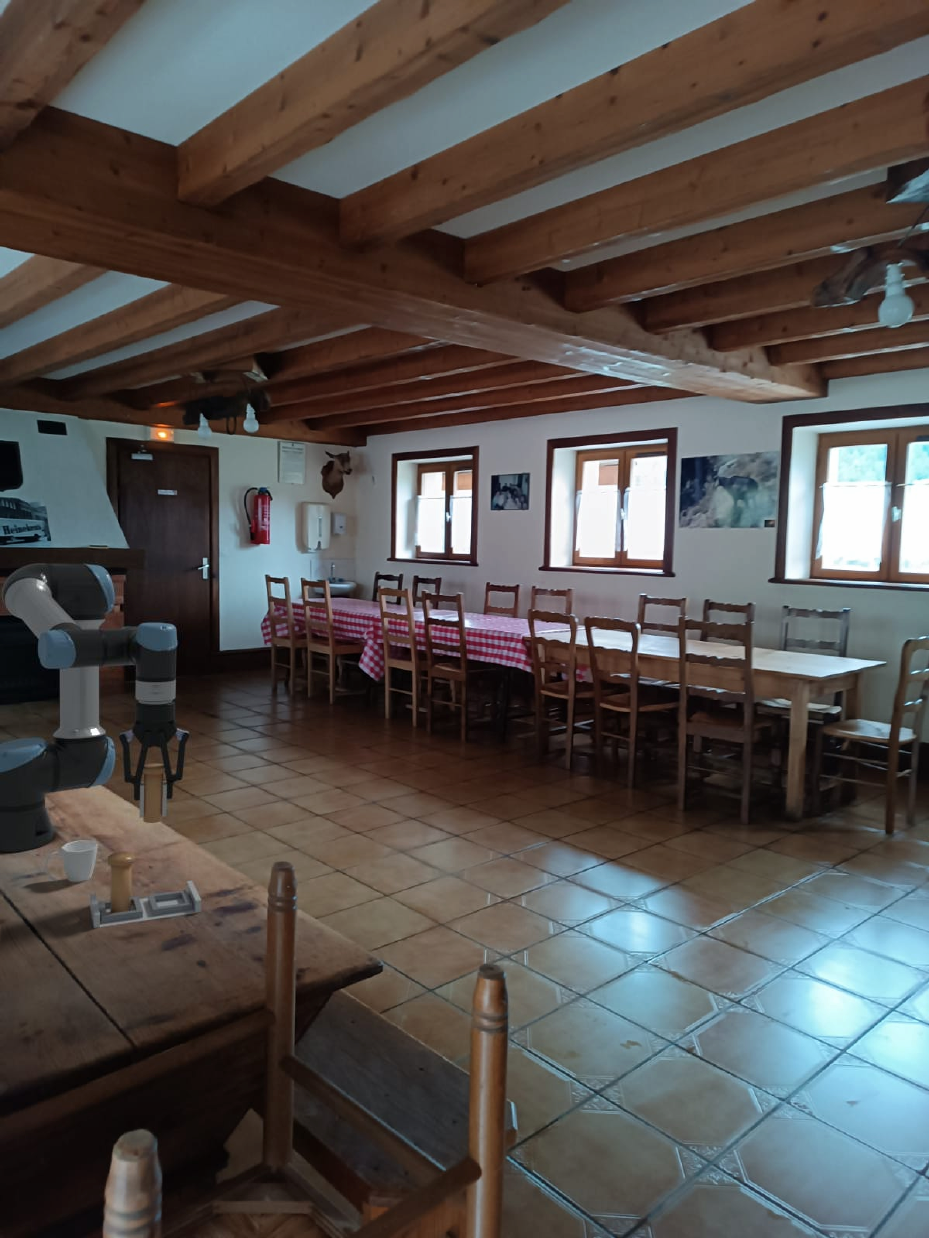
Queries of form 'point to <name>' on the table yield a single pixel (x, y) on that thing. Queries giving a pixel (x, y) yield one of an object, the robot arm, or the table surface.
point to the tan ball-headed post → (153, 792)
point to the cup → (77, 860)
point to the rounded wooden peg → (120, 881)
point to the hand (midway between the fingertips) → (152, 814)
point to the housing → (147, 907)
